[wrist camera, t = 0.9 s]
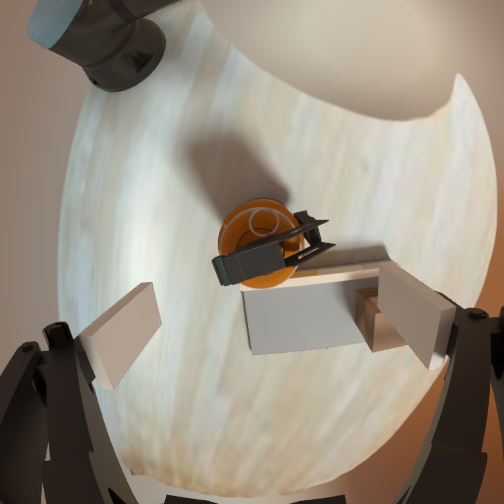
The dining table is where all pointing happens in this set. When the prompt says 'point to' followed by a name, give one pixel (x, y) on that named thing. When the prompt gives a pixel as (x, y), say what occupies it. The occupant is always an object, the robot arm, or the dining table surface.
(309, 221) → the canister
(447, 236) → the dining table surface
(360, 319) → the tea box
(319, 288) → the shelf board
